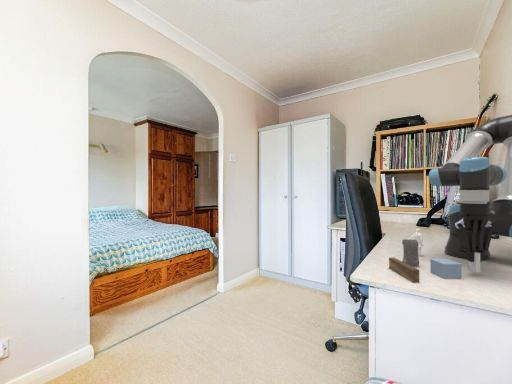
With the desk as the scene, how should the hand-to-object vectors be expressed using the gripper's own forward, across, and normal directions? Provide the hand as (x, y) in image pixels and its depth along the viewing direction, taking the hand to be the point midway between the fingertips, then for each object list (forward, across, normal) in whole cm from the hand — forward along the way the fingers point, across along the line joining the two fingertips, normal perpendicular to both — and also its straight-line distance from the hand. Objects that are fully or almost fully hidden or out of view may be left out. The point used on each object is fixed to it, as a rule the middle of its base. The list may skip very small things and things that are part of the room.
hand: (474, 270), depth 82 cm
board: (+2, +24, -1) cm, 24 cm away
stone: (+2, +15, -11) cm, 19 cm away
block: (+2, +10, 0) cm, 10 cm away
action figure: (+2, +4, -25) cm, 25 cm away
